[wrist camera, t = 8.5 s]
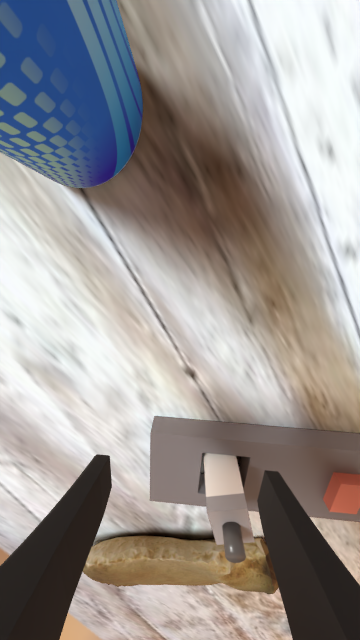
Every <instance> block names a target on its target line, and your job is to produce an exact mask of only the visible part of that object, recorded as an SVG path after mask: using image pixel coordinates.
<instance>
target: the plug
mask: <svg viewBox="0 0 360 640" xmlns="http://www.w3.org/2000/svg"><path fill="white" fill-rule="evenodd" d="M204 470H205V488H206V505H207V514H208V517H209V521H210V524H211V527H212V531H213V534H214V537H215V541H216V544H217V545H222V544H224V549H225V558H226V559H227V560H228V561H229V562H232V563H240V562H243V561H244V560H245V559H246V555H245V549H244V543H250V542H254V537H253V532H252V528H251V523H250V518H249V513H248V509H247V504H246V500H245V495H244V490H243V486H242V481H241V477H240V472H239V467H238V463H237V458H236V456H232V455H221V454H211V453H204Z"/></svg>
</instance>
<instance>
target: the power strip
mask: <svg viewBox="0 0 360 640" xmlns="http://www.w3.org/2000/svg"><path fill="white" fill-rule="evenodd" d="M202 453H211V454H221V455H232V456H242V457H241V462H240V468H239V472H240V477H241V481H242V486H243V490H244V495H245V500H246V504H247V509H248V511H256V512H259V508H258V503H257V499H258V495H259V491H260V487H261V483H262V479H263V475H264V471H265V470H268V471H278V472H279V473H280V474H281V476H282V477H283V479H284V480H285V482H286V483H287V485H288V486H289V488H290V489H291V491H292V492H293V494H294V495H295V497H296V498H297V500H298V501H299V503H300V504H301V506H302V507H303V509H304V510H305V512H306V513H307V515H308V516H309V517H316V518H326V519H336V520H345V521H355V522H360V434H358V433H346V432H334V431H323V430H311V429H299V428H288V427H276V426H264V425H252V424H241V423H229V422H217V421H206V420H194V419H182V418H170V417H159V416H154V420H153V425H152V429H151V443H150V501H158V502H167V503H177V504H187V505H197V506H207V505H206V488H205V474H203V473H200V468H201V459H202Z"/></svg>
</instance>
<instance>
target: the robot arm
mask: <svg viewBox="0 0 360 640" xmlns="http://www.w3.org/2000/svg"><path fill="white" fill-rule="evenodd" d="M111 487H112V483H111V469H110V456H107V455H96V456H94V458H93V459H92V460H91V462H90V463H89V464H88V466H87V467H86V468H85V470H84V471H83V472H82V474H81V475H80V476H79V477H78V479H77V480H76V481H75V483H74V484H73V485H72V486H71V488H70V489H69V490H68V491H67V492H66V494H65V495H64V496H63V497H62V498H61V500H60V501H59V502H58V503H57V504H56V506H55V507H54V508H53V509H52V510H51V511H50V513H49V514H48V515H47V516H46V517H45V518H44V519H43V521H42V522H41V523H40V524H39V525H38V526H37V527H36V528H35V530H34V531H33V532H32V533H31V534H30V535H29V536H28V537H27V538H26V539H25V541H24V542H23V543H22V544H21V545H20V546H19V547H18V548H17V549H16V550H15V551H14V552H13V553H12V554H11V555H10V556H9V557H8V559H7V560H6V561H5V562H4V563H3V564H2V565H1V566H0V640H59V639H60V636H61V632H62V629H63V626H64V623H65V619H66V616H67V613H68V610H69V607H70V604H71V601H72V598H73V596H74V593H75V590H76V587H77V585H78V582H79V579H80V577H81V574H82V571H83V569H84V566H85V563H86V561H87V558H88V555H89V553H90V550H91V548H92V545H93V542H94V540H95V537H96V534H97V532H98V529H99V526H100V524H101V521H102V518H103V515H104V512H105V509H106V505H107V502H108V498H109V495H110V491H111ZM257 503H258V508H259V514H260V519H261V524H262V529H263V533H264V537H265V540H266V544H267V548H268V551H269V555H270V558H271V562H272V565H273V569H274V572H275V576H276V579H277V583H278V586H279V590H280V593H281V597H282V600H283V604H284V607H285V611H286V614H287V618H288V622H289V626H290V630H291V634H292V638H293V640H360V585H359V584H358V582H357V581H356V580H355V579H354V577H353V576H352V575H351V573H350V572H349V571H348V570H347V568H346V567H345V566H344V564H343V563H342V562H341V560H340V559H339V558H338V556H337V555H336V554H335V552H334V551H333V550H332V548H331V547H330V546H329V544H328V543H327V541H326V540H325V539H324V537H323V536H322V534H321V533H320V532H319V530H318V529H317V527H316V526H315V525H314V523H313V522H312V520H311V519H310V517H309V516H308V515H307V513H306V512H305V510H304V509H303V507H302V506H301V504H300V503H299V501H298V500H297V498H296V497H295V495H294V494H293V492H292V491H291V489H290V488H289V486H288V485H287V483H286V482H285V480H284V479H283V477H282V476H281V474H280V473H279V472H278V471H268V470H265V471H264V475H263V479H262V483H261V487H260V491H259V495H258V499H257Z"/></svg>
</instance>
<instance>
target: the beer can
mask: <svg viewBox="0 0 360 640" xmlns="http://www.w3.org/2000/svg"><path fill="white" fill-rule="evenodd" d="M142 117H143V100H142V91H141V85H140V80H139V76H138V72H137V69H136V66H135V62H134V59H133V56H132V52H131V49H130V45H129V42H128V39H127V35H126V32H125V28H124V25H123V22H122V18H121V15H120V11H119V8H118V5H117V1H116V0H0V152H1V153H3V154H5V155H7V156H9V157H11V158H12V159H14V160H16V161H18V162H20V163H22V164H23V165H25V166H27V167H29V168H31V169H33V170H35V171H36V172H38V173H40V174H42V175H44V176H46V177H47V178H49V179H51V180H53V181H55V182H57V183H60V184H62V185H65V186H69V187H75V188H90V187H94V186H98V185H101V184H103V183H105V182H107V181H109V180H110V179H112V178H113V177H115V176H116V175H117V174H118V173H119V172H120V171H121V170H122V169H123V168H124V167H125V165H126V164H127V163H128V161H129V160H130V158H131V156H132V154H133V153H134V150H135V148H136V146H137V143H138V140H139V136H140V132H141V126H142Z"/></svg>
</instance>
